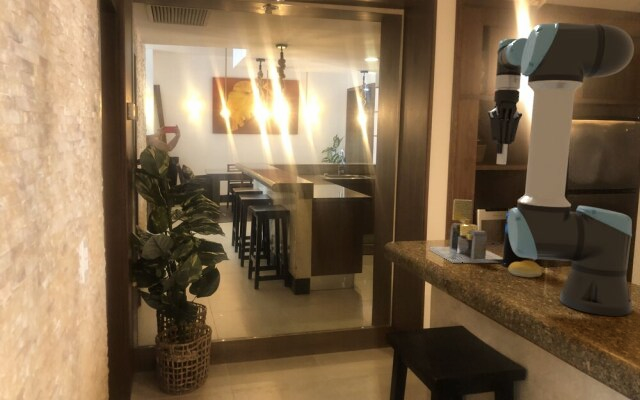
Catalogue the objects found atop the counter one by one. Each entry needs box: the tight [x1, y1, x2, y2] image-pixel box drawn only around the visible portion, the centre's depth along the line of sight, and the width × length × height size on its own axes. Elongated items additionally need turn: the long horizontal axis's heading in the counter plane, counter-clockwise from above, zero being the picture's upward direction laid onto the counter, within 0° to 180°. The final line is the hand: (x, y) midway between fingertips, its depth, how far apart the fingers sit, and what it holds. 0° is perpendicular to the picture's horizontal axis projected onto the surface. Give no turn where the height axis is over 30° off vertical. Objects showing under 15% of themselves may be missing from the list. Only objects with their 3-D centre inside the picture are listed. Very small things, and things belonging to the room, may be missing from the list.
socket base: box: [429, 222, 503, 264], centre depth 174 cm, size 18×18×10 cm
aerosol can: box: [501, 211, 531, 268], centre depth 163 cm, size 8×8×20 cm
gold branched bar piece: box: [452, 199, 478, 240], centre depth 176 cm, size 6×18×11 cm, turn 178°
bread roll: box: [507, 260, 543, 278], centre depth 154 cm, size 8×9×4 cm
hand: (501, 164), depth 172 cm, fingers closed
